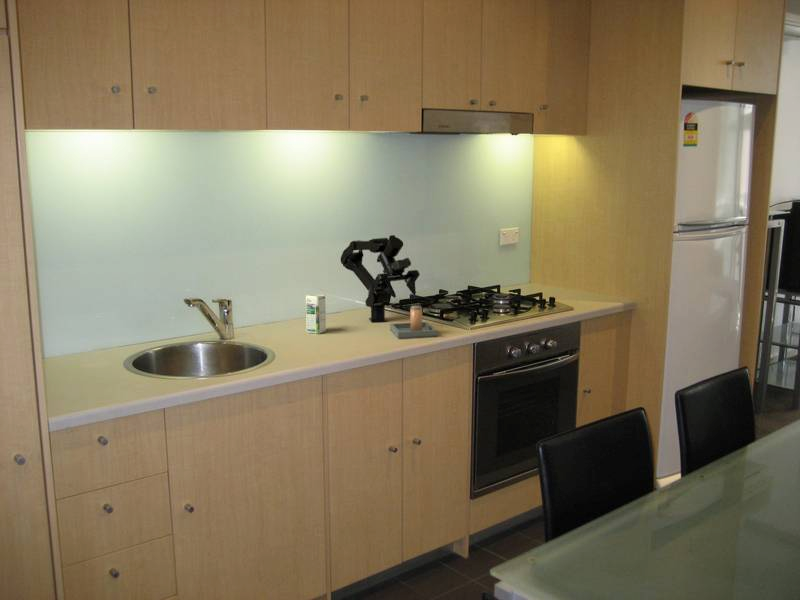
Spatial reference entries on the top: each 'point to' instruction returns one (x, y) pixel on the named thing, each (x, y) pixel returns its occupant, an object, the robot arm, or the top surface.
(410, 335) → the tray
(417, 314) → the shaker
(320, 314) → the syrup box
